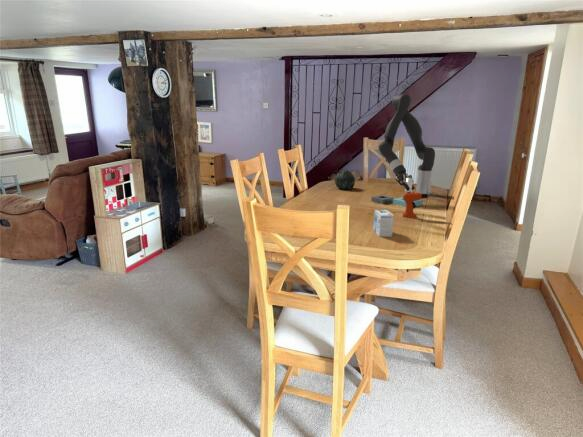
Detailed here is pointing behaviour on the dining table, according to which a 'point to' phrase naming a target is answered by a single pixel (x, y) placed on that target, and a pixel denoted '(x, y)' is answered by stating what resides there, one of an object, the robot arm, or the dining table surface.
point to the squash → (345, 180)
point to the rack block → (401, 202)
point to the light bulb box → (383, 223)
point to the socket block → (382, 199)
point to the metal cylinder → (409, 184)
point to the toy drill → (412, 203)
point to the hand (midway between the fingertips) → (411, 189)
